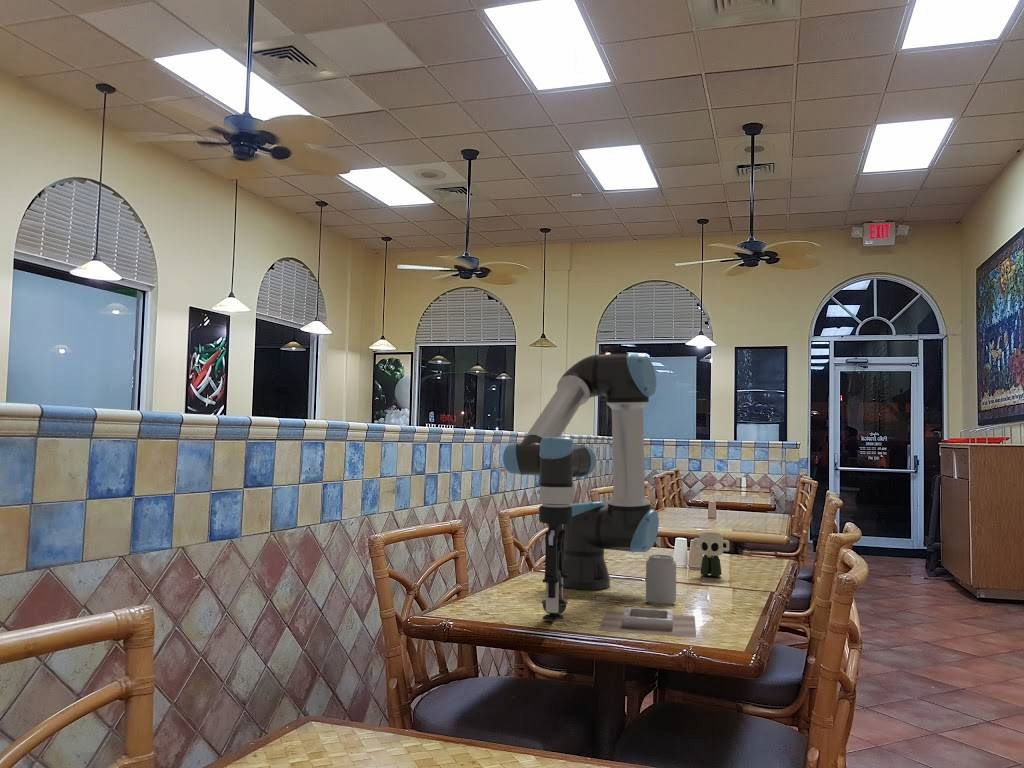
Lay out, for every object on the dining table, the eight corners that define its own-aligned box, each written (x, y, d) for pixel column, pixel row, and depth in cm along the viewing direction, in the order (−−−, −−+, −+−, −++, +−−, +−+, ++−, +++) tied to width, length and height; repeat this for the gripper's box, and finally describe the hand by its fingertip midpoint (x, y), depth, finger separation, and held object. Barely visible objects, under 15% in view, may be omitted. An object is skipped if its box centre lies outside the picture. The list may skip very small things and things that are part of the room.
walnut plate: (606, 615, 186) (606, 610, 186) (694, 621, 182) (694, 616, 182) (598, 636, 167) (598, 630, 167) (696, 643, 163) (696, 637, 163)
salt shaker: (542, 614, 182) (542, 561, 183) (567, 615, 182) (568, 562, 182) (540, 620, 177) (540, 566, 177) (566, 622, 176) (567, 567, 177)
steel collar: (626, 616, 181) (626, 607, 181) (673, 619, 179) (673, 610, 179) (622, 626, 171) (623, 617, 171) (672, 630, 168) (672, 620, 169)
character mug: (690, 576, 242) (691, 533, 243) (694, 573, 249) (695, 531, 250) (727, 579, 238) (727, 535, 239) (730, 576, 245) (730, 533, 246)
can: (679, 606, 198) (679, 558, 199) (649, 606, 198) (649, 557, 198) (671, 600, 205) (672, 553, 206) (642, 600, 205) (643, 553, 206)
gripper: (546, 501, 191) (544, 599, 189) (531, 508, 172) (530, 617, 171) (577, 502, 189) (576, 601, 188) (566, 509, 171) (565, 619, 169)
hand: (554, 608), depth 179 cm, fingers closed on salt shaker, 6 cm apart
